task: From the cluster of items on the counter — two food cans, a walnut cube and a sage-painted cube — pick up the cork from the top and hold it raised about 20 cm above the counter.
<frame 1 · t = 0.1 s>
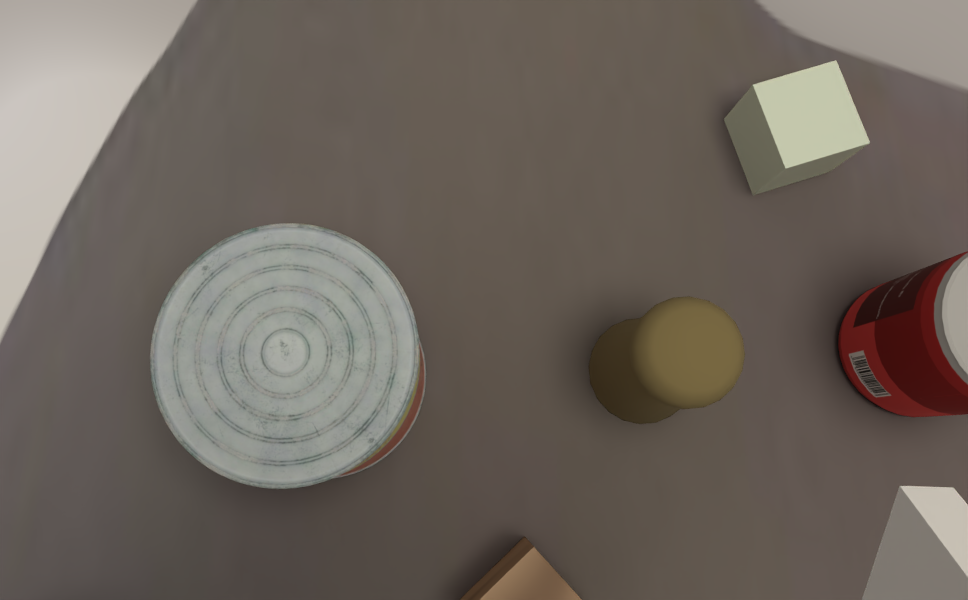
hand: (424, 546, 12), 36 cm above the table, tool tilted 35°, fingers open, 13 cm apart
canned food 2: (325, 376, 48), on the table
sage cube: (776, 145, 51), on the table
cork: (640, 370, 49), on the table
canned food: (898, 350, 50), on the table
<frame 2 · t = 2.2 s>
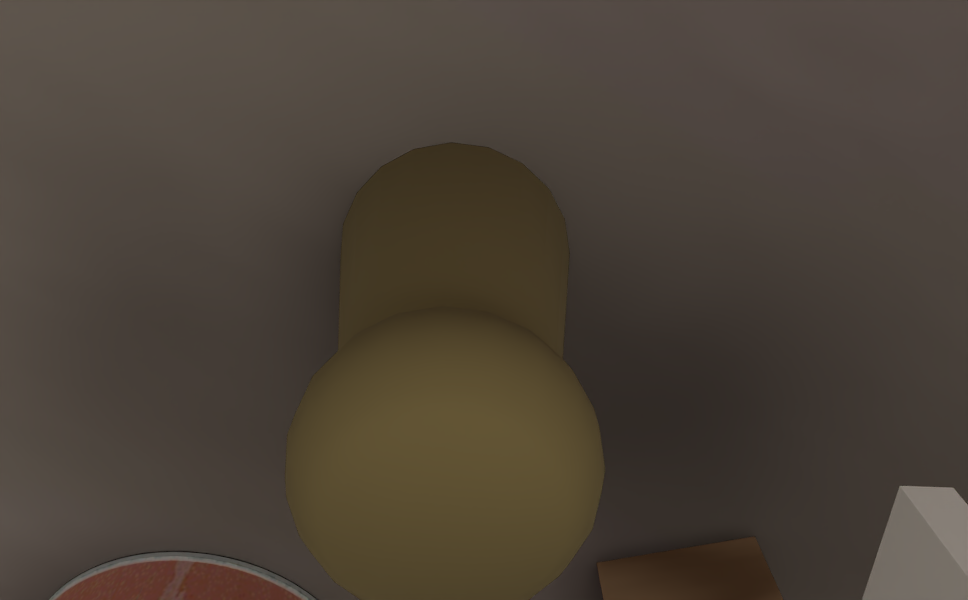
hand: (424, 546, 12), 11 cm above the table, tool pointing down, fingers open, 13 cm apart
cork: (455, 252, 23), on the table
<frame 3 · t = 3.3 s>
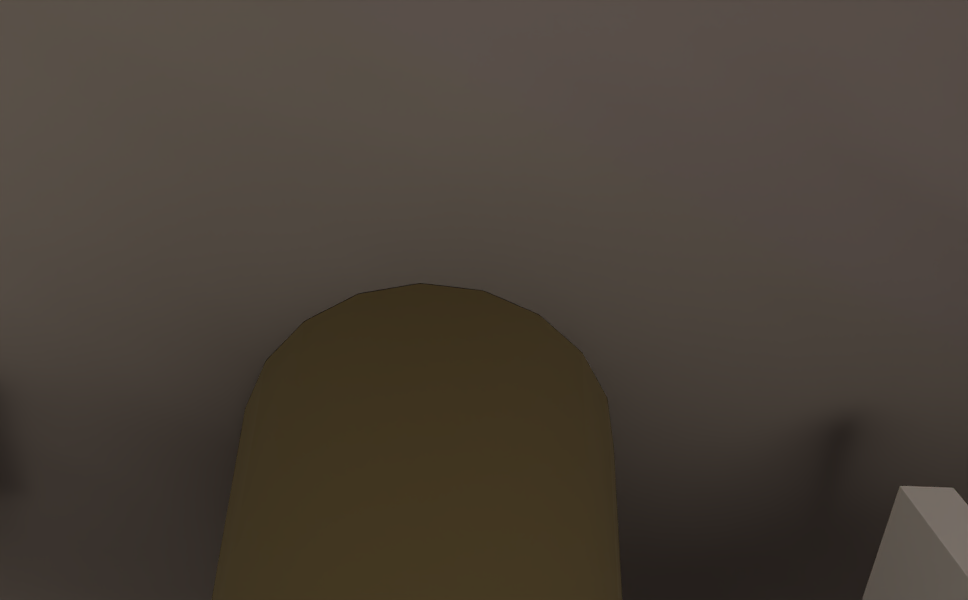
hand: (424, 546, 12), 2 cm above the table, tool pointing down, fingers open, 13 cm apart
cork: (429, 444, 14), on the table
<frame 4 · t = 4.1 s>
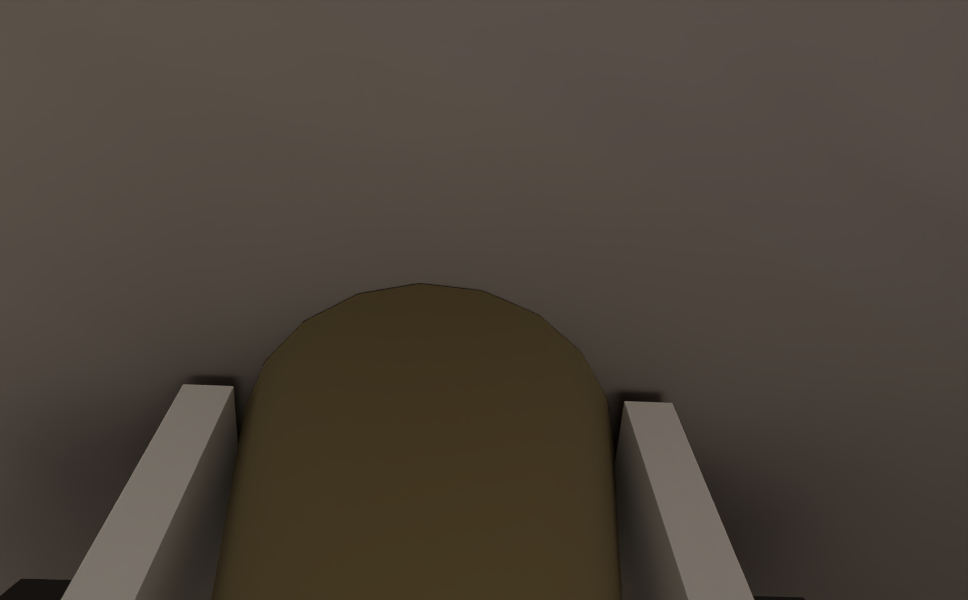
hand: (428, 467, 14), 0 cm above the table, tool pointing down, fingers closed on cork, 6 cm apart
cork: (429, 444, 14), on the table, touching gripper
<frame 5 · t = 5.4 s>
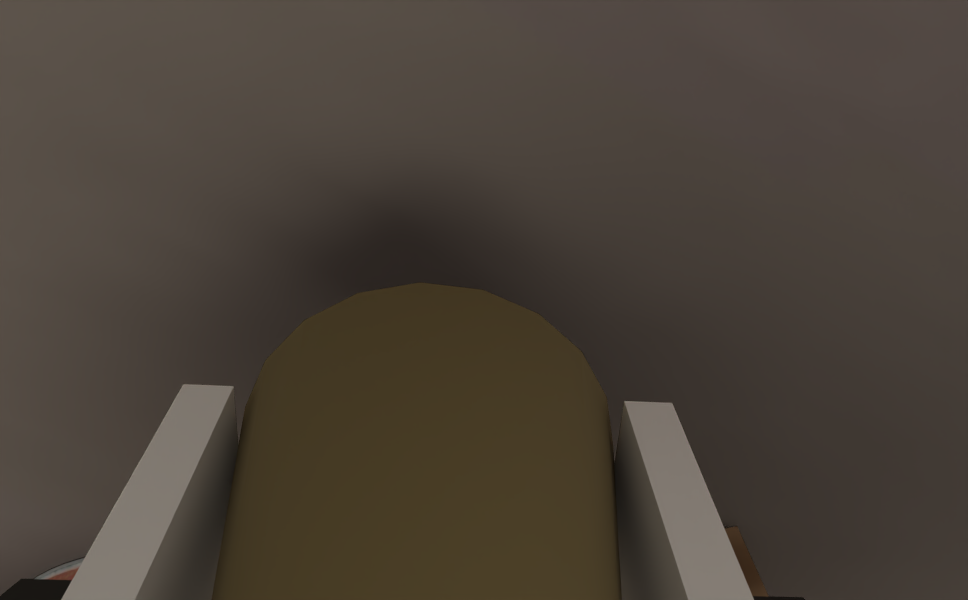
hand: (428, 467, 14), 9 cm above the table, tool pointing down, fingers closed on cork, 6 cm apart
walnut cube: (663, 597, 27), on the table
cork: (429, 443, 14), point 8 cm above the table, touching gripper
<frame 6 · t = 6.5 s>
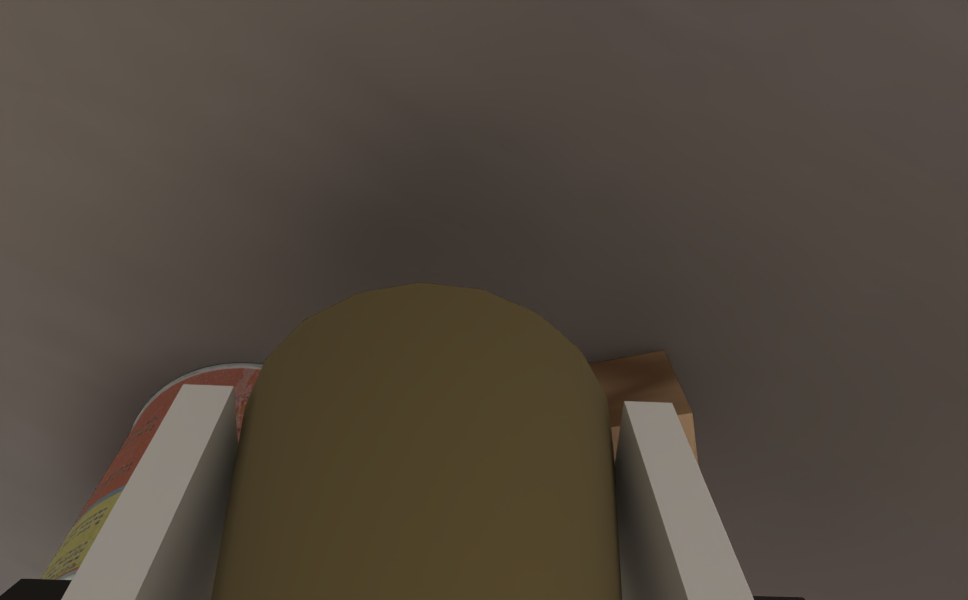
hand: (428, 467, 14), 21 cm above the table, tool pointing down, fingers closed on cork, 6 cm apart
walnut cube: (613, 407, 38), on the table
canned food 2: (256, 467, 39), on the table
cork: (429, 443, 14), point 20 cm above the table, touching gripper
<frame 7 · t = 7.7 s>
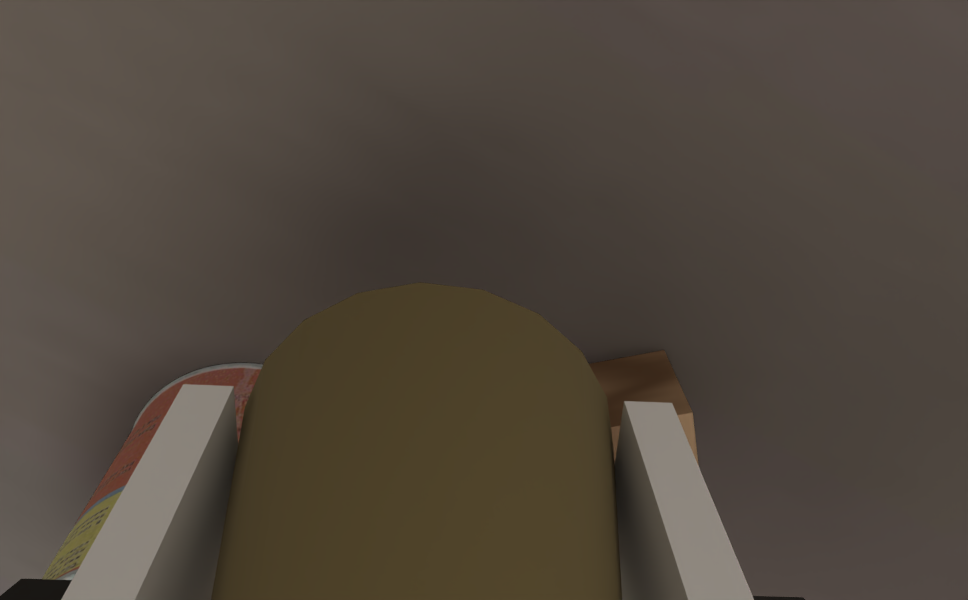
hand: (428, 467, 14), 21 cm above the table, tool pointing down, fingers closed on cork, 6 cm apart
walnut cube: (613, 407, 38), on the table
canned food 2: (256, 467, 39), on the table
cork: (429, 443, 14), point 20 cm above the table, touching gripper
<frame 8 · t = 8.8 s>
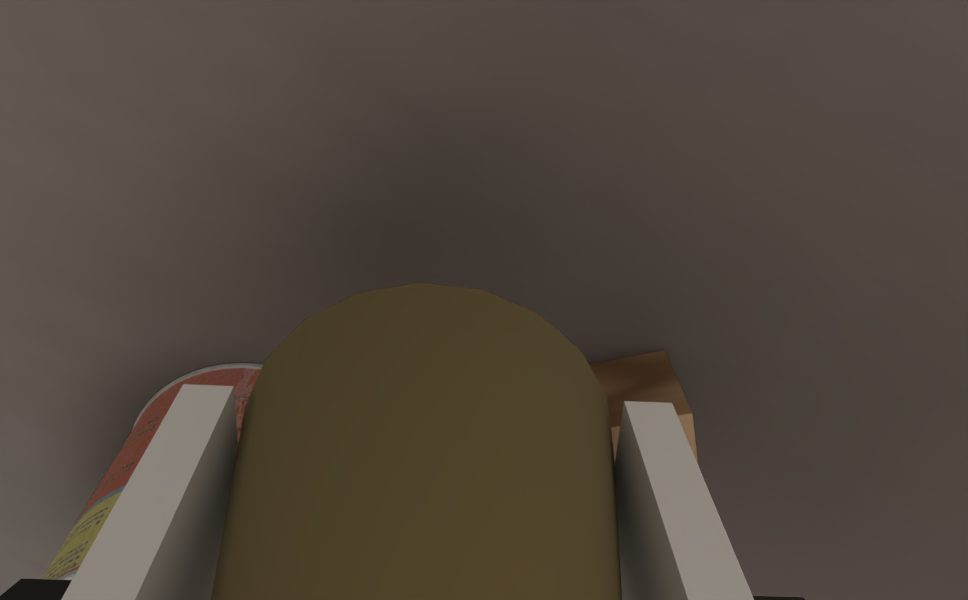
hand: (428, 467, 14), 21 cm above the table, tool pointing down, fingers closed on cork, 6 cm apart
walnut cube: (613, 407, 38), on the table
canned food 2: (256, 467, 39), on the table
cork: (429, 443, 14), point 20 cm above the table, touching gripper
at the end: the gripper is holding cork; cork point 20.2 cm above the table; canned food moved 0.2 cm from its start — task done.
